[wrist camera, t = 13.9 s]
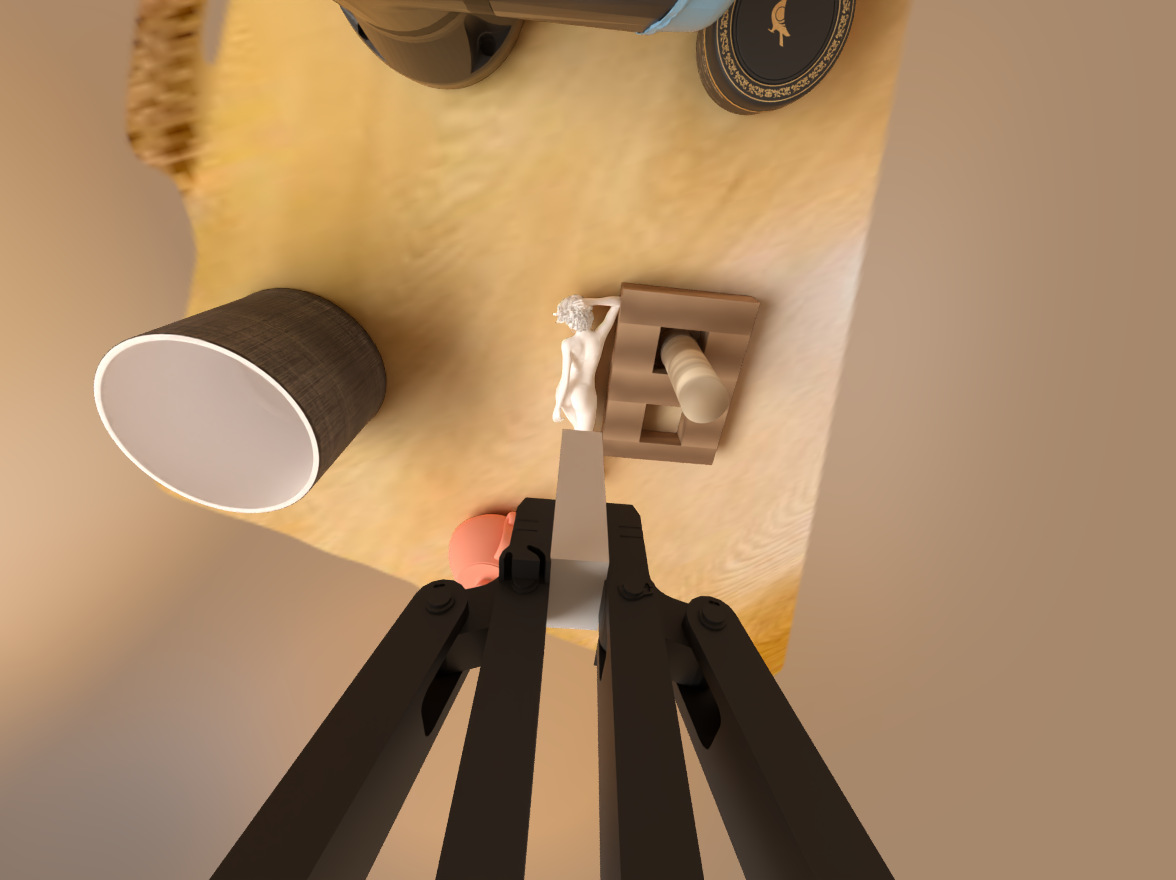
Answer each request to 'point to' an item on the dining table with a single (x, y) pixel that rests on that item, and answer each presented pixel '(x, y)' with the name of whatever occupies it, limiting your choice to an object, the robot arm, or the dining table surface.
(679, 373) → the leg
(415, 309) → the dining table surface
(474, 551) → the sugar bowl
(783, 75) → the jar
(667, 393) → the board
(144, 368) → the planter
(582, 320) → the figurine
